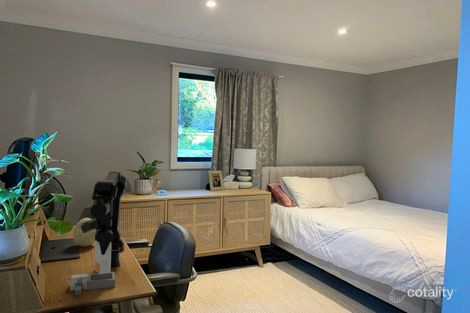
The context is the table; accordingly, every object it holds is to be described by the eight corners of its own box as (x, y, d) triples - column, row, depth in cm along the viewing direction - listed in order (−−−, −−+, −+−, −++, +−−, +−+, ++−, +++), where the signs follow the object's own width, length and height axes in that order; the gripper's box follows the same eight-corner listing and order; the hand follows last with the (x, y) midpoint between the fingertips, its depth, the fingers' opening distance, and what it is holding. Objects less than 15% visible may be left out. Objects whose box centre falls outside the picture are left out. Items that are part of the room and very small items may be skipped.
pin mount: (71, 284, 134) (72, 273, 134) (87, 282, 136) (88, 272, 136) (70, 290, 129) (70, 279, 128) (87, 289, 131) (87, 278, 130)
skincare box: (94, 270, 136) (95, 240, 136) (104, 268, 139) (105, 238, 139) (100, 274, 132) (101, 244, 132) (110, 272, 135) (112, 242, 134)
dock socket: (88, 281, 138) (88, 273, 138) (114, 278, 141) (114, 271, 141) (87, 289, 130) (87, 281, 130) (114, 286, 134) (115, 279, 134)
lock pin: (77, 282, 135) (77, 275, 135) (82, 282, 136) (83, 275, 136) (74, 295, 125) (75, 287, 125) (80, 294, 126) (81, 286, 126)
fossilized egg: (103, 244, 186) (104, 216, 185) (87, 251, 173) (88, 221, 173) (83, 241, 189) (84, 214, 188) (66, 247, 177) (67, 219, 176)
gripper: (83, 208, 141) (82, 246, 141) (80, 218, 123) (79, 261, 124) (112, 208, 145) (110, 244, 145) (113, 217, 127) (111, 259, 128)
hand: (103, 251), depth 135 cm, fingers closed on skincare box, 7 cm apart
